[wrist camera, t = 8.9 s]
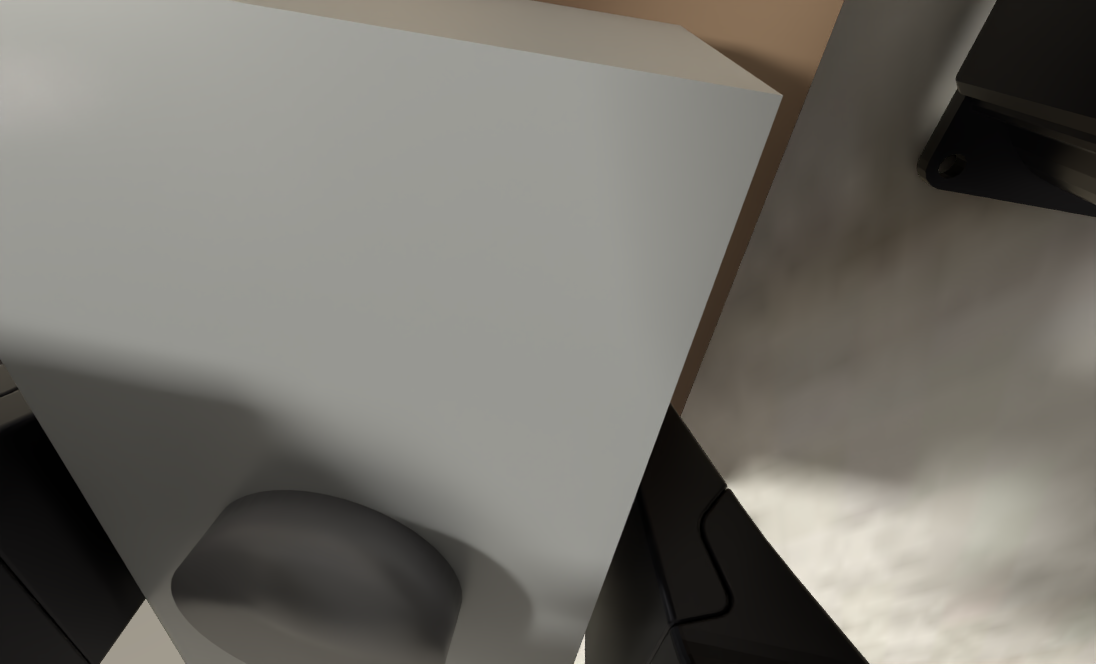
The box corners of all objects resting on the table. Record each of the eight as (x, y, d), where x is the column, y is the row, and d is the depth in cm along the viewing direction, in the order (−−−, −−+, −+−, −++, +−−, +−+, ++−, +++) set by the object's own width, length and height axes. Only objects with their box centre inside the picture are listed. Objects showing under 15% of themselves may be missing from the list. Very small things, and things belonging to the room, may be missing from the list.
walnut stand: (833, -125, 9) (909, -168, 7) (636, 450, 18) (637, 525, 15) (292, -209, 9) (171, -281, 7) (356, 394, 18) (311, 459, 15)
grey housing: (568, 479, 13) (523, 832, 7) (371, 439, 13) (186, 756, 8) (679, 24, 7) (822, 121, 2) (328, -34, 7) (-491, -106, 2)
